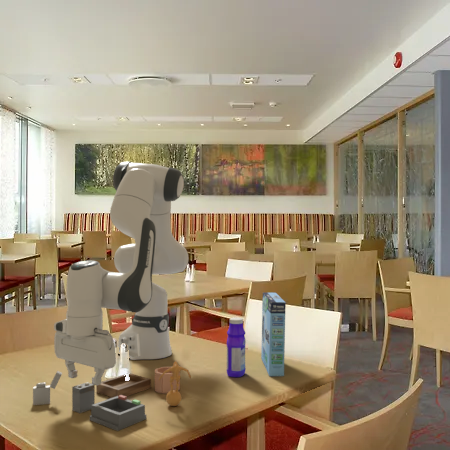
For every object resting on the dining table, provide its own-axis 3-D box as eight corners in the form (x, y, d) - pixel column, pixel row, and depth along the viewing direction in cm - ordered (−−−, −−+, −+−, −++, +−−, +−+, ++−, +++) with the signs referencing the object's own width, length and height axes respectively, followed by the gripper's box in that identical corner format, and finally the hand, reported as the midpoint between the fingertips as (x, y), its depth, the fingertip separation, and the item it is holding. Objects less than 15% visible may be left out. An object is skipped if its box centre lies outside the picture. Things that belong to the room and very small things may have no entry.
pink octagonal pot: (149, 389, 147) (149, 370, 147) (167, 383, 153) (167, 365, 153) (167, 395, 143) (167, 375, 143) (184, 388, 148) (184, 369, 148)
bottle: (243, 379, 158) (243, 321, 157) (224, 377, 159) (224, 320, 158) (247, 371, 165) (247, 316, 164) (229, 370, 166) (229, 315, 165)
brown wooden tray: (96, 392, 145) (96, 383, 145) (129, 381, 155) (129, 373, 155) (118, 399, 140) (118, 390, 140) (150, 387, 149) (150, 379, 149)
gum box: (261, 359, 179) (261, 292, 179) (276, 359, 180) (276, 292, 179) (268, 376, 160) (269, 301, 159) (285, 376, 160) (286, 301, 160)
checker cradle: (89, 420, 126) (89, 403, 125) (118, 409, 133) (118, 393, 133) (117, 430, 119) (117, 413, 119) (146, 418, 127) (146, 402, 126)
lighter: (32, 405, 135) (32, 374, 135) (33, 402, 137) (33, 372, 137) (61, 402, 137) (61, 372, 137) (62, 400, 139) (62, 370, 139)
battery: (72, 410, 132) (72, 385, 132) (87, 405, 135) (87, 380, 135) (79, 413, 130) (79, 387, 130) (94, 408, 133) (94, 383, 133)
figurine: (187, 401, 139) (187, 356, 138) (193, 409, 133) (193, 362, 133) (156, 404, 136) (156, 358, 136) (160, 413, 130) (160, 365, 130)
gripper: (122, 329, 128) (122, 385, 128) (70, 319, 140) (70, 371, 141) (101, 333, 123) (101, 392, 123) (49, 323, 135) (49, 376, 136)
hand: (84, 381), depth 132 cm, fingers open, 8 cm apart
